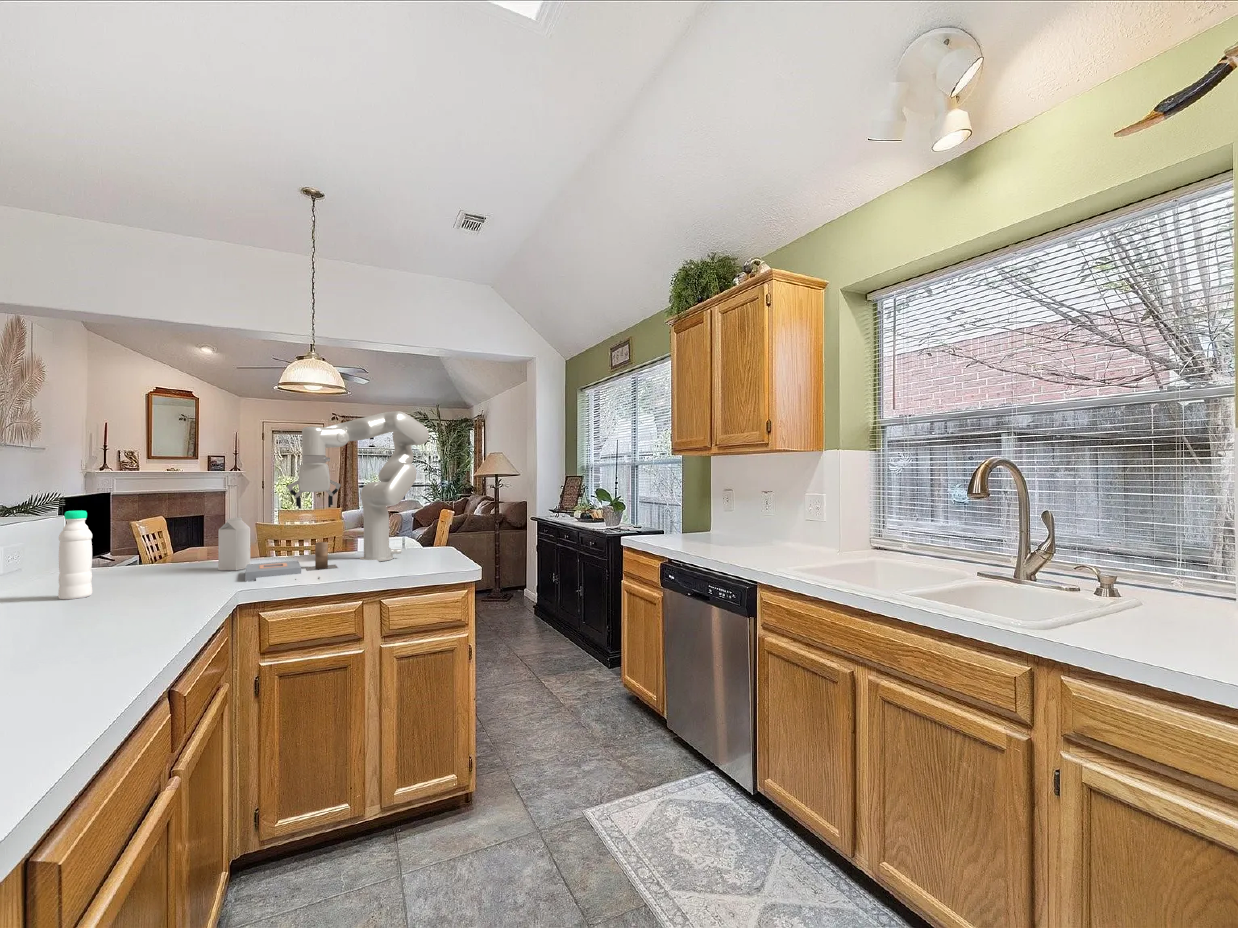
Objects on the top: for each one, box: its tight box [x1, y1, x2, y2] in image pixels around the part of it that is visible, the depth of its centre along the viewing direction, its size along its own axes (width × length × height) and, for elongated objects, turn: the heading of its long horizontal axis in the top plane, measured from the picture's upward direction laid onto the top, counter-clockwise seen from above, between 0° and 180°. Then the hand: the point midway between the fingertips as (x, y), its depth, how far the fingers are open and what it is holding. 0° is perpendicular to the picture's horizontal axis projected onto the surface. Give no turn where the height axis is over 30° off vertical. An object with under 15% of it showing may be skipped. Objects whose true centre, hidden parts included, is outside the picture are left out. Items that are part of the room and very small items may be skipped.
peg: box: [314, 541, 329, 568], centre depth 207 cm, size 4×4×9 cm
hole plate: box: [244, 560, 302, 582], centre depth 199 cm, size 16×20×3 cm
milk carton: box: [217, 517, 251, 571], centre depth 212 cm, size 7×7×19 cm
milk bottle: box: [57, 510, 93, 601], centre depth 164 cm, size 7×7×25 cm
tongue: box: [304, 564, 339, 572], centre depth 207 cm, size 10×10×1 cm
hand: (314, 507), depth 207 cm, fingers open, 9 cm apart
